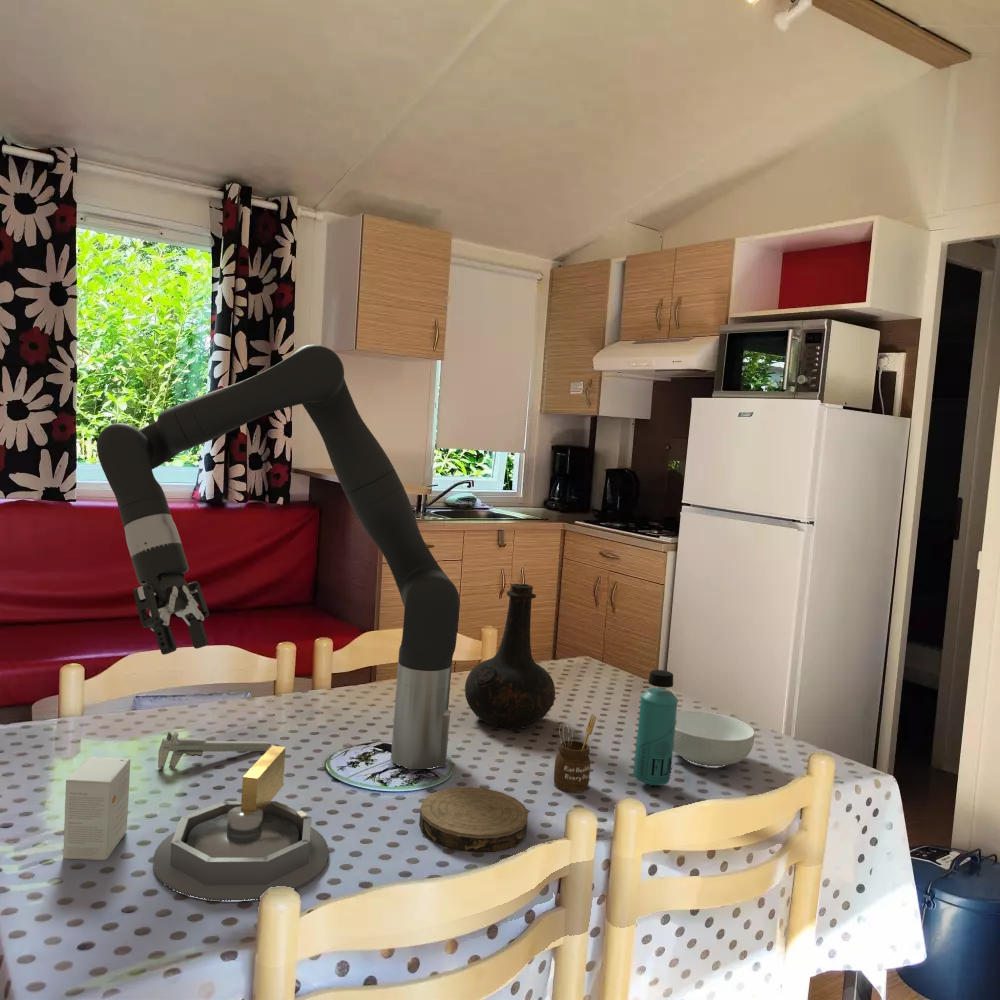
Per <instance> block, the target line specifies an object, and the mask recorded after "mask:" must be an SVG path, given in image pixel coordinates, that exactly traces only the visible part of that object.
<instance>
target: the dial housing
mask: <svg viewBox="0 0 1000 1000" xmlns="http://www.w3.org/2000/svg"><path fill="white" fill-rule="evenodd" d="M239 806H241V800H224V801H221V802H218V803H216V804H215V803H214V804H213V805H210V806H207V807H205V808H202V809H200V810H197V811H195V812H192V813H188V814H186V815H183V816H181V817H180V820H179V822H178V825H177V827H176V829H175V831H173V832H172V833H171V834H169V835H168V836H166V837H165V838H164V839H163V840H162V841H161V842H159V844H158V845H157V847H156V849H155V850H154V854H153V858H152V864H153V865H152V866H153V867H152V869H153V872H154V875H155V877H156V878H157V880H158V879H159V880H160V881H161V882H162V883H163V884H165V885H166V886H168V887H170V888H171V889H174V890H175V891H178V892H181V893H184V894H186V895H189V896H190V895H191V896H194V897H198V898H203V899H204V898H205V899H207V900H208V899H209V900H211V899H212V900H220V901H222V900H224V901H225V900H227V901H228V900H230V901H231V900H244V899H245V900H248V899H249V900H250V899H255V900H256V899H258V901H260V900H259V899H260V896H261V895H262V894H263V893H264V892H265V891H266V890H267V889H268V888H270V887H276V886H286V887H291V888H294V889H296V890H298V889H301V888H303V887H304V886H306V885H308V884H309V883H311V882H312V881H313V880H315V879H316V878H317V877H318V876H320V874H321V873H322V872H323V870H324V869H325V868H326V865H327V863H328V858H329V846H328V843H327V840H326V839H325V838H324V836H323V835H322V834H321V833H320V832H319V831H318V830H316V829H315V828H314V827H312V816H309V815H308V814H307V813H306V812H305V811H303V810H297V809H294V808H292V807H290V806H288V805H285V804H284V803H281V802H279V801H275V800H271V802H270V803H269V804H268V805H267V807H266V808H265V809H264V810H263V812H264V813H270V814H275V815H278V816H281V817H283V818H286V819H288V820H289V821H291V822H292V823H293V824H294V825H295V826H296V827H297V829H298V832H299V838H298V842H297V843H295V844H293V845H291V846H288V847H286V848H284V849H282V850H280V851H277V852H275V853H273V854H271V855H268V856H266V857H248V858H211V857H210V856H208V855H206V854H204V853H202V852H200V851H198V850H197V849H195V848H193V847H191V846H189V845H187V841H188V835H189V833H190V831H191V830H192V829H193V828H194V827H195V826H196V825H198V824H199V823H201V822H203V821H205V820H207V819H209V818H212V817H215V816H218V815H222V814H227V813H228V812H229V811H230V810H231V809H233V808H236V807H239ZM159 880H158V881H159ZM160 881H159V882H160ZM161 882H160V883H161ZM162 883H161V884H162ZM163 884H162V885H163ZM166 886H165V887H166Z"/></svg>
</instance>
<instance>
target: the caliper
mask: <svg viewBox="0 0 1000 1000" xmlns="http://www.w3.org/2000/svg"><path fill="white" fill-rule="evenodd" d="M271 746H276V745H275V744H272V742H270V741H262V740H261V741H256V740H254V741H252V740H251V741H246V740H239V741H238V740H233V741H232V740H230V741H229V740H205V739H204V738H198V737H197V738H192V737H191V738H190V737H179V733H178V732H177V731H175V732H174V733H173V734H172V733H171V732H170V731H168V732H167V736H166V738H162V740H161V744H160V746H159V749H158V758H157V759H158V760H157V767H158V769H159V770H161V771H162V772H163V771H164V769H165V765H166V762H167V760H168V756H169V754H170V752H172V754H171V757H170V761H169V766H168V768H169V769H170V770H173V769H175V768H176V767H177V765H178V763H179V761H180V760H181V758H182V756H183V754H186V755H188V756H190V757H194V756H196V757H202V756H203V753H204V752H267V751H268V750H269V748H270V747H271Z"/></svg>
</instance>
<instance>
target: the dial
mask: <svg viewBox="0 0 1000 1000" xmlns="http://www.w3.org/2000/svg"><path fill="white" fill-rule="evenodd" d="M286 748H287V747H286V746H276V745H275V746H271V747H270V748H269V750H267V751H265V753H264V754H262V756H261V757H260V758H259V759H258V760H257V761H256V762H255V763H254V764H253V765H252V766H251V768H249V770H248V771H246V773H245V774H243V776H242V785H241V799H240V801H241V806H239V807H236V808H233V809H231V810H230V811H229V812H228V813H227V814H222V815H218V816H215V817H212V818H209V819H207V820H205V821H203V822H201V823H199V824H198V825H196V826H195V827H194V828H193V829H192V830H191V831H190V833H189V835H188V841H187V845H189V846H191V847H193V848H195V849H197V850H198V851H200V852H202V853H204V854H206V855H208V856H210V857H211V858H248V857H266V856H268V855H271V854H273V853H275V852H277V851H280V850H282V849H284V848H286V847H288V846H291V845H293V844H295V843H297V842H298V838H299V832H298V829H297V827H296V826H295V825H294V824H293V823H292V822H291V821H289V820H288V819H286V818H283V817H281V816H278V815H275V814H270V813H264V812H263V810H264V809H265V808H266V807H267V805H268V804H269V803H270V802H271V801H273V799H274V798H275V797H276V796H277V794H278V793H279V792H280V791H281V789H282V788H283V787H284V780H285V779H284V775H285V761H286Z"/></svg>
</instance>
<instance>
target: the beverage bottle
mask: <svg viewBox="0 0 1000 1000" xmlns="http://www.w3.org/2000/svg"><path fill="white" fill-rule="evenodd" d="M647 682H648V684H649V685H651V686H653V687H652V688H648V689H647V690H645V691H644V692H643V693H641V695H640V704H639V705H640V706H639V714H638V715H639V718H638V727H637V728H638V729H637V735H636V740H635V747H634V749H635V751H634V757H633V776H634V778H635V779H636V780H637V781H639V782H641V783H643V784H648V785H650V786H662V785H666V784H668V783H669V782H670V779H671V776H672V770H673V767H672V765H673V753H674V752H673V749H674V748H673V744H674V738H675V737H674V733H675V732H676V730H675V723H676V711H678V710H677V707H678V702H679V700H678V698H677V696H676V695H675V694H674V693H673V692H672V691H671V690H667V688H673V687H674V674H673V672H671V671H667V670H663V669H652V670H650V672H649V678H648V681H647Z"/></svg>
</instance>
